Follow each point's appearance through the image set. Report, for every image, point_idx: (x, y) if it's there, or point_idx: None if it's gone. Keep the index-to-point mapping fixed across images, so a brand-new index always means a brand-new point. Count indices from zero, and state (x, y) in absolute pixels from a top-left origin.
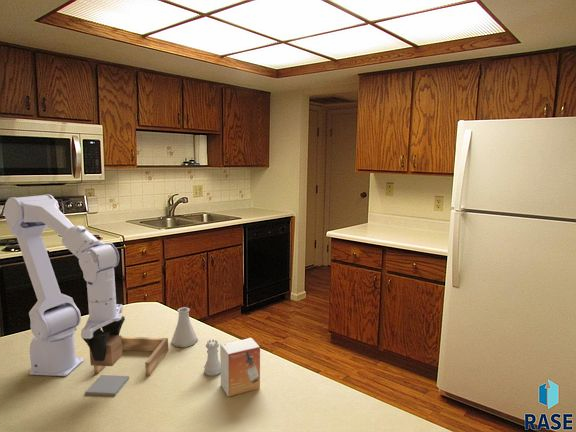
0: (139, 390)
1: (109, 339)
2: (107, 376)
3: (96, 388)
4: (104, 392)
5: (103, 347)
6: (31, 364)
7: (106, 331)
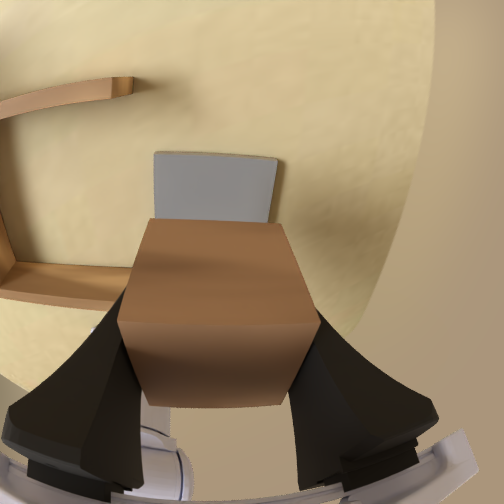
0: (244, 78)
1: (206, 363)
2: None
3: None
4: (268, 200)
5: (351, 346)
6: None
7: (135, 409)
